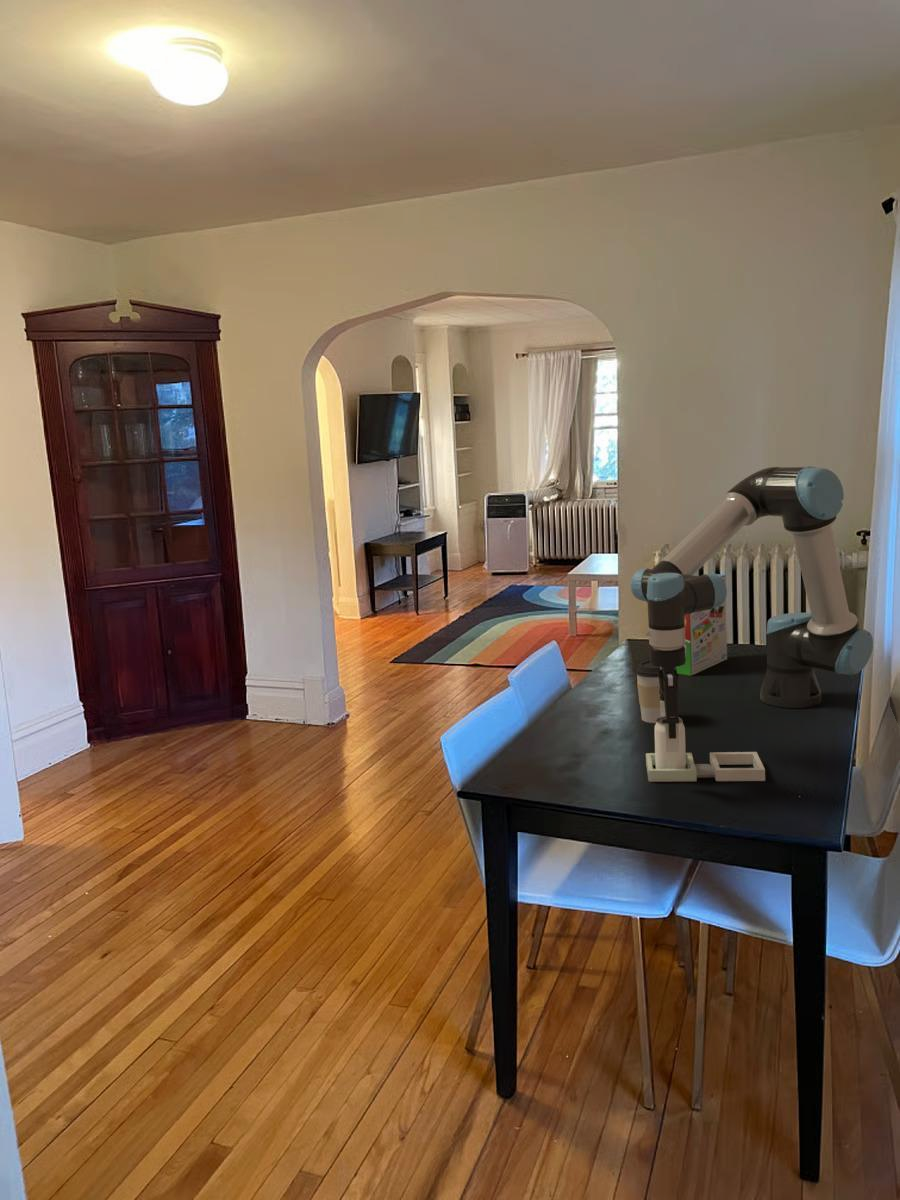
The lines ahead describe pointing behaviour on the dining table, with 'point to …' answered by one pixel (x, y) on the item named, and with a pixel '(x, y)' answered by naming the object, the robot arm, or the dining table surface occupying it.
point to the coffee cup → (648, 691)
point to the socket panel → (710, 768)
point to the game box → (704, 639)
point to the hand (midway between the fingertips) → (669, 740)
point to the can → (661, 756)
